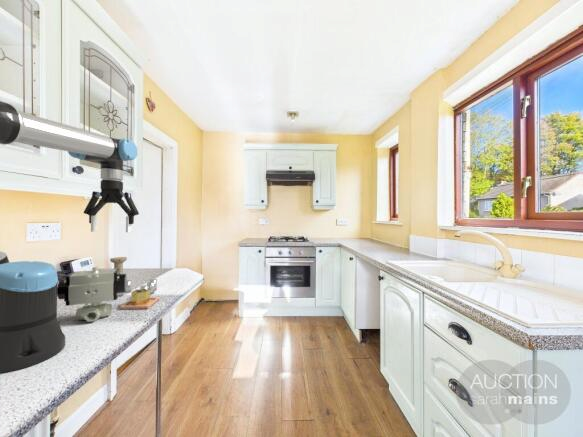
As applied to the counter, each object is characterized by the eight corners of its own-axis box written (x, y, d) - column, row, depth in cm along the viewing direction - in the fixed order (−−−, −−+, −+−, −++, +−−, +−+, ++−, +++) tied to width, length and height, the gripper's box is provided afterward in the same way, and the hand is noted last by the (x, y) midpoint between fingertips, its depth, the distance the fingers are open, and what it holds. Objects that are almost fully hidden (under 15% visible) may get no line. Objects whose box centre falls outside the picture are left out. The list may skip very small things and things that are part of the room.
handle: (127, 289, 118) (127, 258, 118) (110, 292, 113) (111, 259, 113) (125, 287, 121) (125, 256, 121) (109, 289, 117) (109, 258, 117)
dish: (147, 309, 95) (147, 306, 95) (120, 309, 94) (120, 306, 94) (159, 300, 105) (159, 297, 105) (134, 300, 104) (134, 297, 104)
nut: (151, 300, 103) (151, 288, 103) (144, 306, 96) (144, 293, 96) (137, 300, 102) (137, 288, 102) (129, 306, 96) (129, 293, 96)
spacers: (144, 300, 104) (144, 288, 104) (106, 300, 103) (106, 288, 103) (159, 289, 119) (160, 279, 119) (127, 289, 118) (127, 279, 118)
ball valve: (54, 329, 78) (55, 272, 77) (64, 318, 85) (64, 267, 85) (123, 318, 86) (124, 268, 86) (126, 310, 94) (127, 263, 93)
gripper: (148, 182, 106) (147, 231, 107) (86, 180, 105) (86, 230, 105) (138, 180, 99) (138, 233, 99) (72, 178, 97) (72, 231, 98)
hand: (111, 231), depth 102 cm, fingers open, 13 cm apart
